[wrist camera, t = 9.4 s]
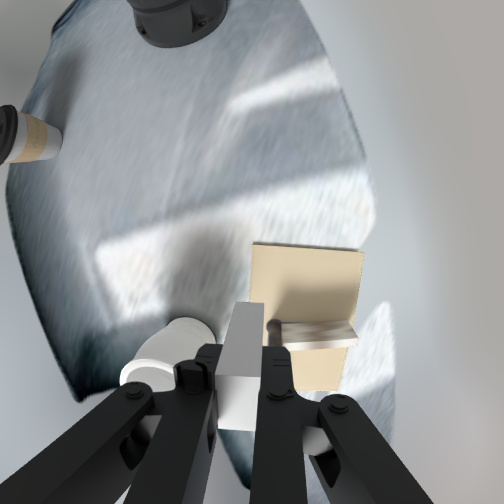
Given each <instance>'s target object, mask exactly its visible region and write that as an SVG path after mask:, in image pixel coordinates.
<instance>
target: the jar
mask: <svg viewBox="0 0 504 504" xmlns="http://www.w3.org/2000/svg"><path fill="white" fill-rule="evenodd" d="M205 343H209V344H216V341H215V338H214V335H213V333H212V332H211V330H210V329H209V328H208V327H207V326H206V325H205V324H204V323H202V322H201V321H199V320H196V319H193V318H188V317H182V318H177V319H175V320H173V321H172V322H170V323H169V324H168V326H167V327H165V328H163V329H162V330H160V331H159V332H158V333H156V334H154V335H153V336H152V337H150V338H149V339H148V340H147V341H146V342H145V343H144V344H143V345H142V346H141V348H140V349H139V350H138V352H137V354H136V355H135V357H134V360H132V361H130V362H129V363H128V364H127V365H126V366H125V367H124V368H123V370H122V372H121V375H120V386H121V385H123V384H125V383H128V382H134V381H139V382H143V383H146V384H148V385H149V386H150V387H151V388H152V390H153V392H163V391H170V390H174V388H175V380H174V373H173V367H174V366H175V364H177V363H179V362H181V361H184V360H188V359H194V358H195V356H196V353H197V351H198V349H199V348H200V347H201V346H203V345H204V344H205Z"/></svg>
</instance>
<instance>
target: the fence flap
mask: <svg viewBox="0 0 504 504" xmlns="http://www.w3.org/2000/svg"><path fill="white" fill-rule="evenodd" d="M281 331H282V337H281ZM282 344H283V346H284V347H286V348H287V349H288V351H298V350H315V349H329V348H341V347H351V346H358V336H357V335H356V333H355V331H354V330H353V328H352V326H351V325H350V323H349V321H348V320H343V321H329V322H313V323H293V324H281V326H280V324H278V323H276V322H274V323H271V324H270V325H269V330H268V346H282Z"/></svg>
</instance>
